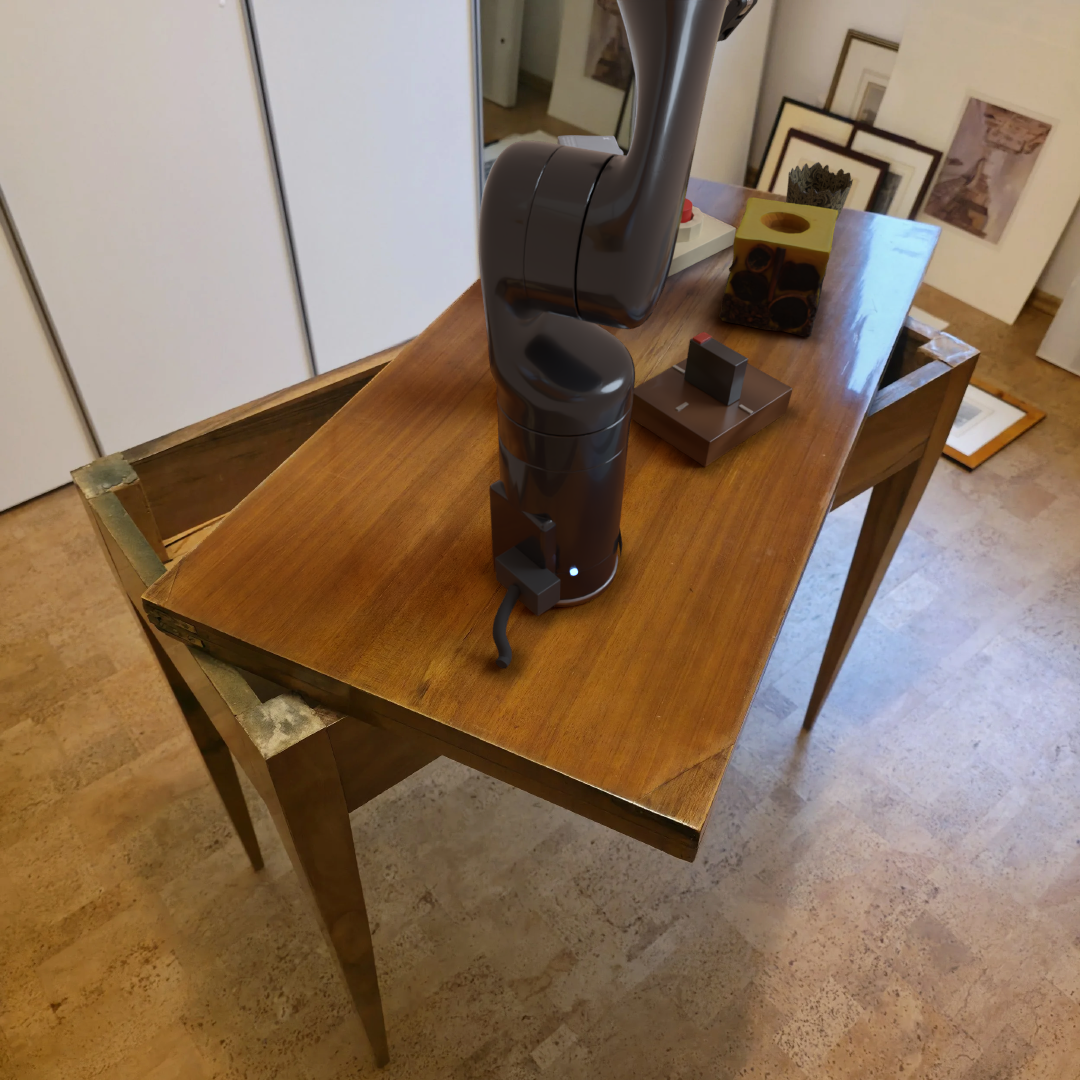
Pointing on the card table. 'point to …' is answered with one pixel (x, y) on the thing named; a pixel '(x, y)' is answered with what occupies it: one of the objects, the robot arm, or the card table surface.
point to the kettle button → (687, 211)
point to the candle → (778, 266)
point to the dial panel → (707, 411)
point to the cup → (818, 187)
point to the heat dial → (715, 368)
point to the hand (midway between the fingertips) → (690, 81)
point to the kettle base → (700, 240)
